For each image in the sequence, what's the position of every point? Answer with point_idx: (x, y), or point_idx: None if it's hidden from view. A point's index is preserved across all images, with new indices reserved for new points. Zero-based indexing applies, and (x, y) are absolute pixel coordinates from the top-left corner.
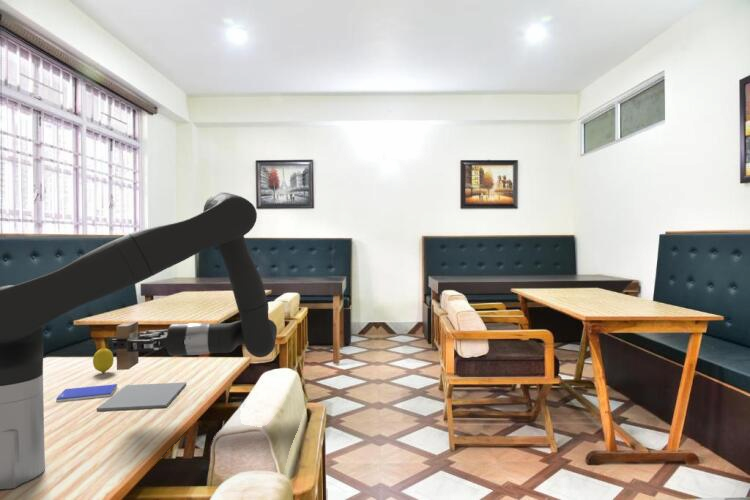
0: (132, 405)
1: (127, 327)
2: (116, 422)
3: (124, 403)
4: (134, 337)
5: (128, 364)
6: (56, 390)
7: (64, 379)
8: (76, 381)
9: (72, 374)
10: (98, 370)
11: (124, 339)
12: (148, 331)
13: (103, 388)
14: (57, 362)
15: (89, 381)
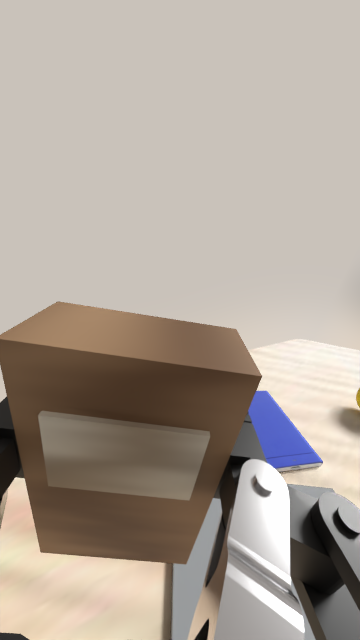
0: (183, 588)
1: (2, 348)
2: (60, 581)
3: (203, 542)
4: (133, 460)
5: (40, 538)
6: (268, 383)
7: (310, 379)
8: (311, 393)
9: (332, 381)
10: (358, 405)
11: (4, 413)
12: (218, 597)
13: (286, 443)
14: (356, 359)
15: (320, 408)
